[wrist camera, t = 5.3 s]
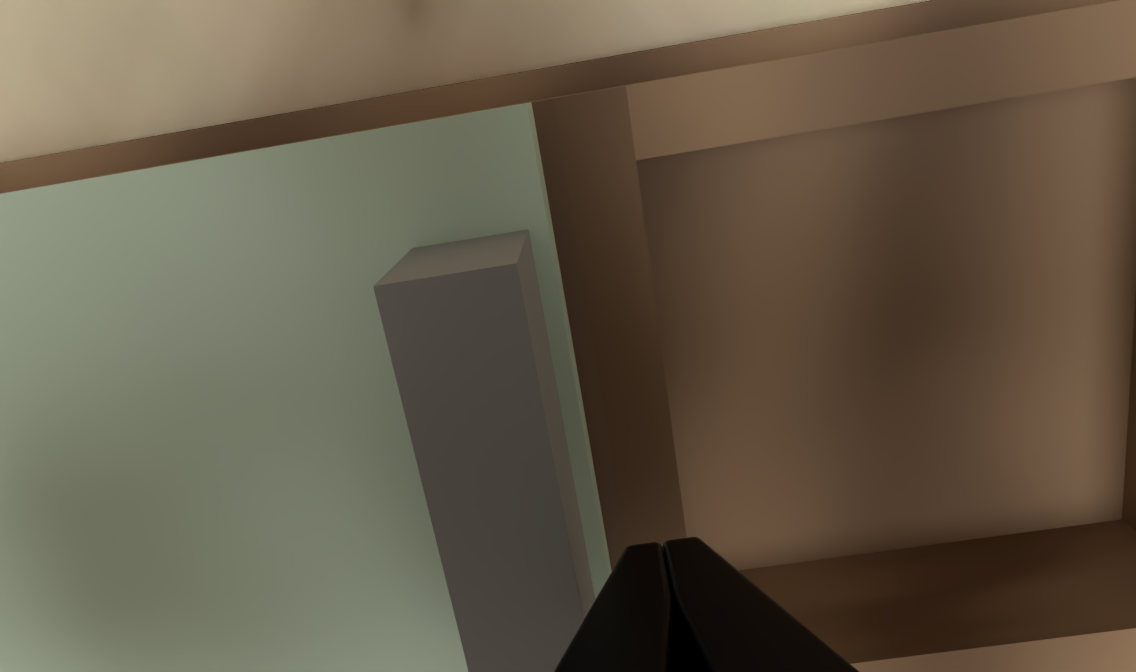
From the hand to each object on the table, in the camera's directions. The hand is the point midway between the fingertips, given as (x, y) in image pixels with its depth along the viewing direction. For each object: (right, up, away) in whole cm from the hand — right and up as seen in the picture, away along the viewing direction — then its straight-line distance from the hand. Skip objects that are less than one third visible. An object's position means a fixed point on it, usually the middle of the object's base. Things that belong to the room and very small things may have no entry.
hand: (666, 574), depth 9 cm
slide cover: (-6, 0, +3) cm, 7 cm away
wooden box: (0, +2, +7) cm, 7 cm away
